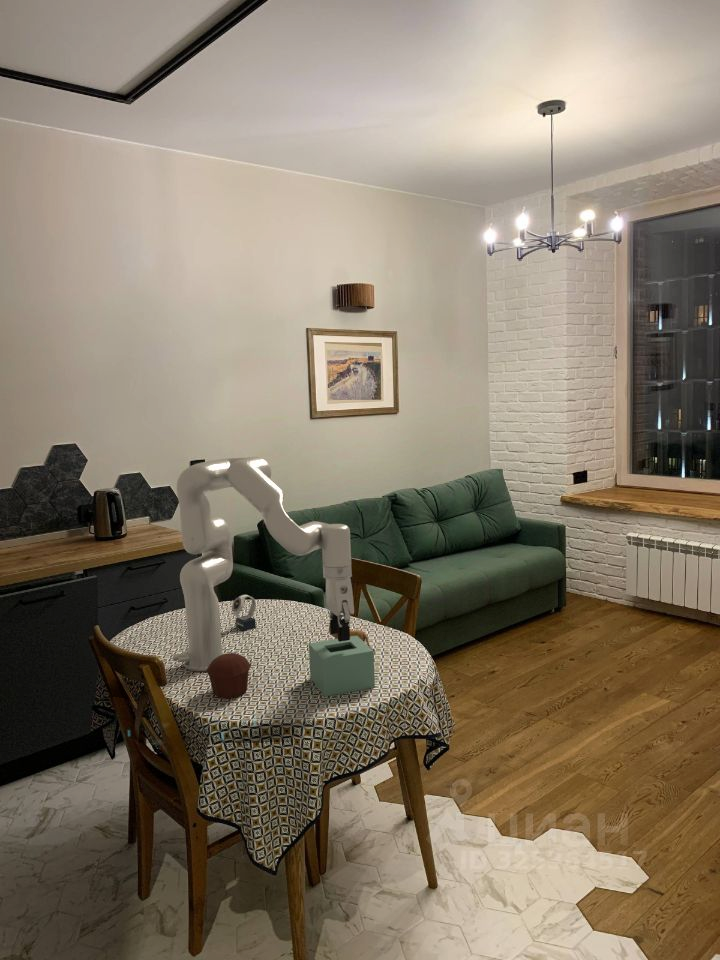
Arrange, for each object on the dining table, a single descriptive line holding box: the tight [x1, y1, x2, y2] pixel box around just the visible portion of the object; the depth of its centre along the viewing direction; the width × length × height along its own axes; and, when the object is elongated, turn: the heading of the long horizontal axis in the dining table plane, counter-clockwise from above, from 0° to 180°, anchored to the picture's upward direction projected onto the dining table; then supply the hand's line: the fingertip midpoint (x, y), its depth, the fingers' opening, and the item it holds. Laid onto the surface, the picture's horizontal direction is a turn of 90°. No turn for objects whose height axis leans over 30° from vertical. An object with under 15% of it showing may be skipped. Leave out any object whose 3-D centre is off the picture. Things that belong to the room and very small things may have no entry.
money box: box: [308, 636, 376, 697], centre depth 195 cm, size 14×13×10 cm
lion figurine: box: [327, 622, 376, 652], centre depth 218 cm, size 15×5×9 cm, turn 71°
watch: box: [231, 594, 257, 632], centre depth 243 cm, size 6×8×11 cm
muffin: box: [205, 652, 252, 700], centre depth 191 cm, size 12×11×10 cm
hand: (340, 636), depth 194 cm, fingers open, 5 cm apart
